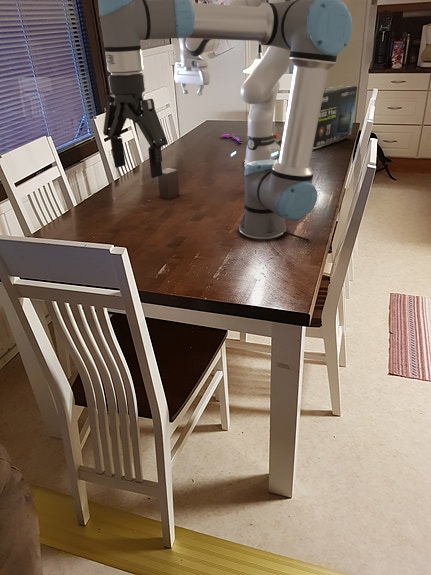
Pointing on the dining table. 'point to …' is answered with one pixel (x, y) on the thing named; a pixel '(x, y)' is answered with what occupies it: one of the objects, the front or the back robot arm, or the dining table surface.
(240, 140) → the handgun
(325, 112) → the router box
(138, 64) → the front robot arm
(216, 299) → the dining table surface
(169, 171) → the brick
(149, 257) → the dining table surface
